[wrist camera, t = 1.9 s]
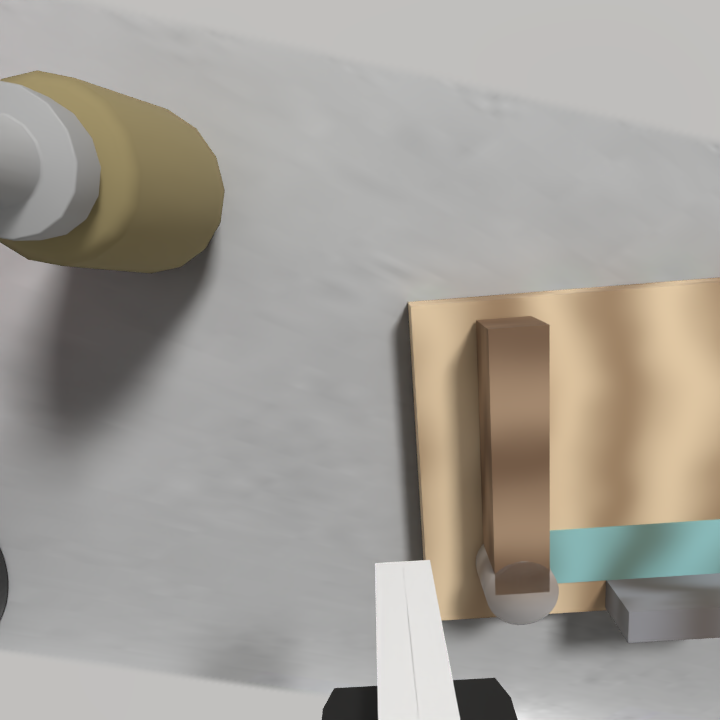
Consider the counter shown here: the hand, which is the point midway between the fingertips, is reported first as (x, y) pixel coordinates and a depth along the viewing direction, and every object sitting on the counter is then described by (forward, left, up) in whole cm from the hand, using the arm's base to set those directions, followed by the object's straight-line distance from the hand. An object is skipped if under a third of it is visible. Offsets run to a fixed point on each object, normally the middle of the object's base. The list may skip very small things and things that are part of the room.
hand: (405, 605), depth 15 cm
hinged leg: (+7, -4, -16) cm, 18 cm away
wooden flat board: (+13, -4, -19) cm, 23 cm away
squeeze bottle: (-11, +13, -19) cm, 25 cm away
